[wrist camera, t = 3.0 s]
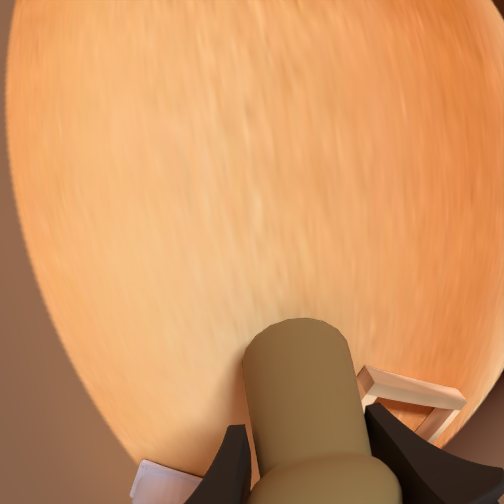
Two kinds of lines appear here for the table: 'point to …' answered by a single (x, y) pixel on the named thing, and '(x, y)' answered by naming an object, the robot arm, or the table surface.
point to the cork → (310, 420)
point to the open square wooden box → (412, 397)
